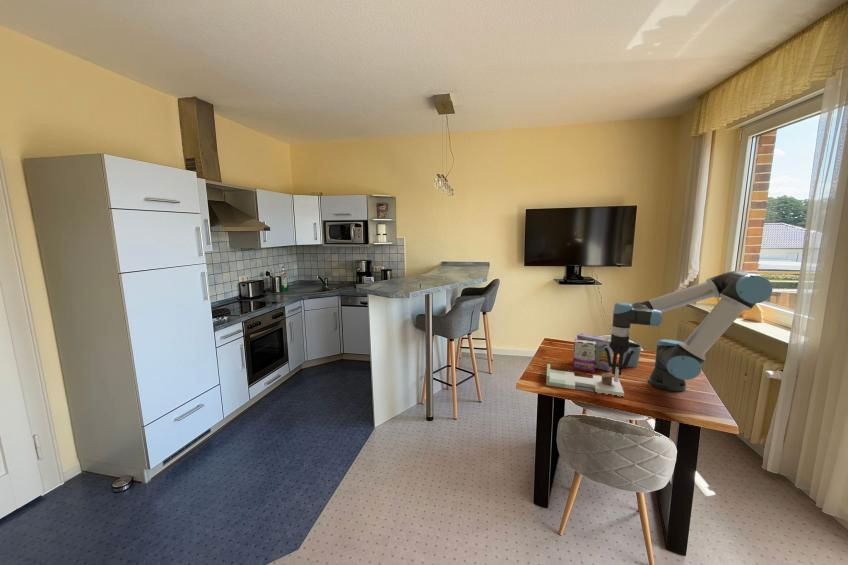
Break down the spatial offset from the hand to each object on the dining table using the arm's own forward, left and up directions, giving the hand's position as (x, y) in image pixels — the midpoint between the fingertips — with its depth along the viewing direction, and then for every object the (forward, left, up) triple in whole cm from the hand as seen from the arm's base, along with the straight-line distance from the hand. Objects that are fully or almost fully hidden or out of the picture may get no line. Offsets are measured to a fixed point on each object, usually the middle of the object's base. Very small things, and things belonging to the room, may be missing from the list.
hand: (615, 380), depth 167 cm
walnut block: (+4, 0, -2) cm, 4 cm away
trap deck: (+14, 0, -4) cm, 15 cm away
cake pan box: (+8, -27, -4) cm, 28 cm away
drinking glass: (-12, -37, -4) cm, 39 cm away
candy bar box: (+13, -20, -4) cm, 24 cm away
